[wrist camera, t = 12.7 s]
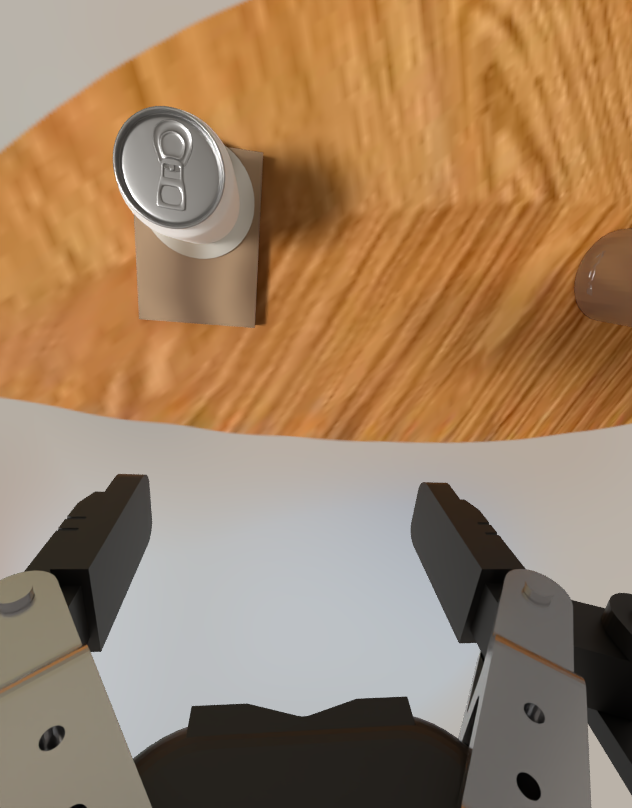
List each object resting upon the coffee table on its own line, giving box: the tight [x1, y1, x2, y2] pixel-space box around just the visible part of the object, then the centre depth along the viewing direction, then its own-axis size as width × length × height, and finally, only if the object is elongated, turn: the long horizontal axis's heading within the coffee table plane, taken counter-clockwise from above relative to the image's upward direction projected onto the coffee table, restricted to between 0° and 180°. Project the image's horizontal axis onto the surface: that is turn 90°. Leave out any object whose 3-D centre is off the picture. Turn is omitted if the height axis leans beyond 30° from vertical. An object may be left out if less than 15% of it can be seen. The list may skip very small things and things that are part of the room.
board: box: [134, 145, 263, 328], centre depth 33 cm, size 10×14×2 cm
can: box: [113, 106, 240, 244], centre depth 26 cm, size 6×6×12 cm
